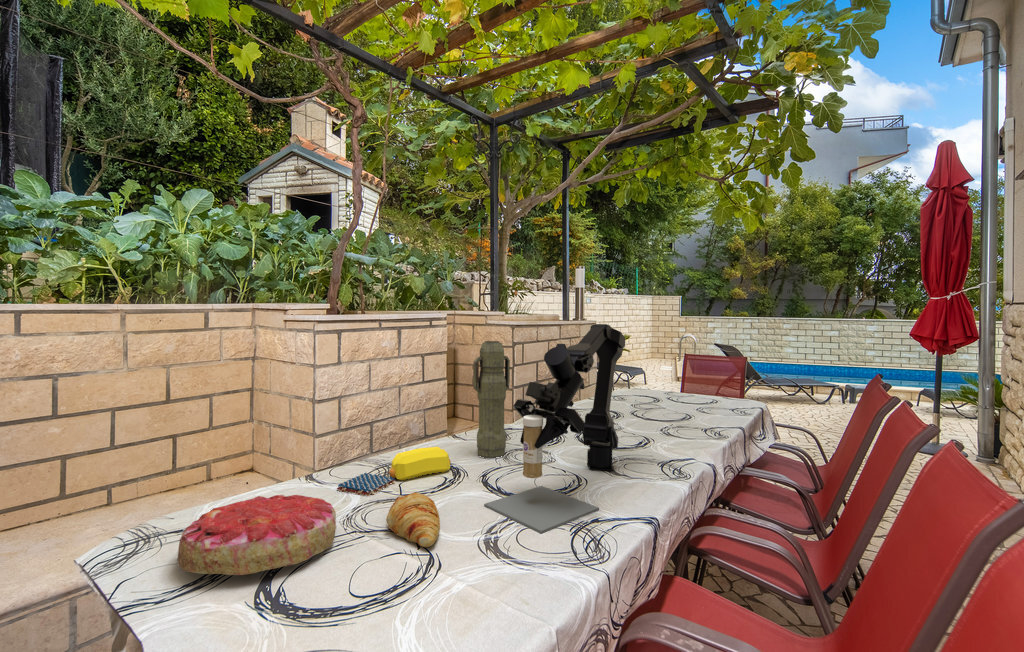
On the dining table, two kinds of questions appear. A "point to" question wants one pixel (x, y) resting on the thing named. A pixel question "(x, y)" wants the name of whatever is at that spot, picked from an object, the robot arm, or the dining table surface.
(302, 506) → the cake
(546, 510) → the mat
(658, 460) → the dining table surface
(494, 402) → the thermos
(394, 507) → the croissant
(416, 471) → the yellow elongated block
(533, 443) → the sprinkles bottle
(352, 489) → the woven mat
